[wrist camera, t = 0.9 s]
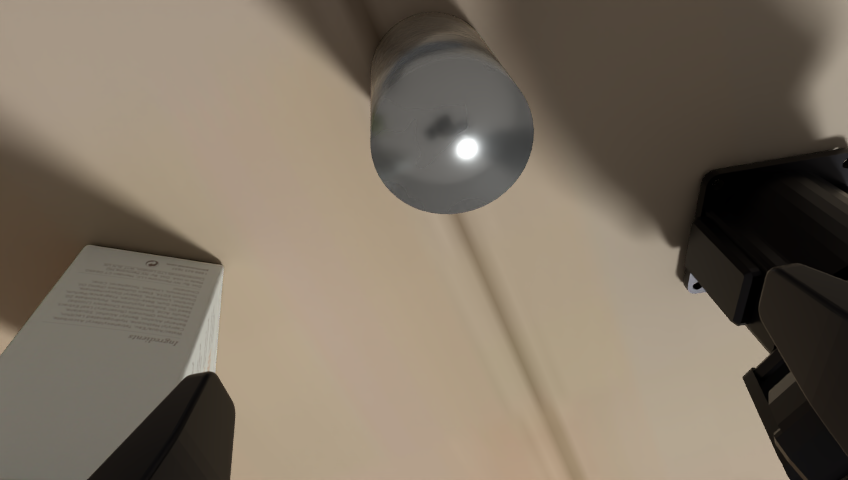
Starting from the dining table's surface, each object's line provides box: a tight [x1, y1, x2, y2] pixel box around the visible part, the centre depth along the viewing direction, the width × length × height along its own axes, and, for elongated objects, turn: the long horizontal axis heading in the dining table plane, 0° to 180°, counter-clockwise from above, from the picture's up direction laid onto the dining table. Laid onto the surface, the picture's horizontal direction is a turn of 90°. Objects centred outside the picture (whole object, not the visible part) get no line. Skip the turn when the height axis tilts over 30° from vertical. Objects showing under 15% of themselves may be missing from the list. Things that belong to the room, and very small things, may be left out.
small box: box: [0, 245, 224, 480], centre depth 20 cm, size 8×6×10 cm
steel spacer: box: [371, 12, 534, 214], centre depth 17 cm, size 4×4×6 cm
